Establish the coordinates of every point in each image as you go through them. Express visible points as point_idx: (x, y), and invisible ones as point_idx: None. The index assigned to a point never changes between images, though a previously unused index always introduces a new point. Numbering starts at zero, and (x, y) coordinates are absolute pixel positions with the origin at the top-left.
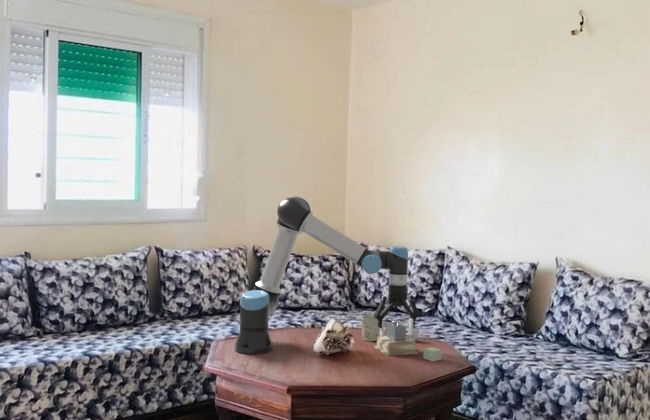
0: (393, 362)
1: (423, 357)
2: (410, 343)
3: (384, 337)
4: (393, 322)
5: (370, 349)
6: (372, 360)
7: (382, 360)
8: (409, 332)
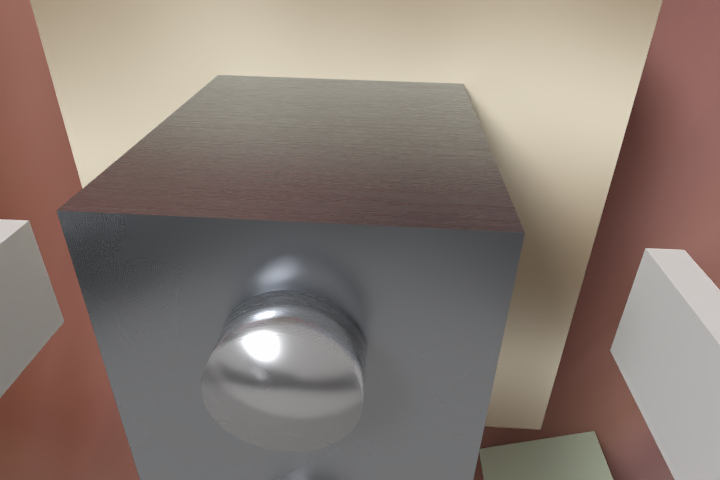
0: None
1: (480, 456)
2: None
3: (160, 112)
4: (232, 412)
5: (27, 14)
6: (6, 390)
7: (95, 410)
8: (642, 310)
